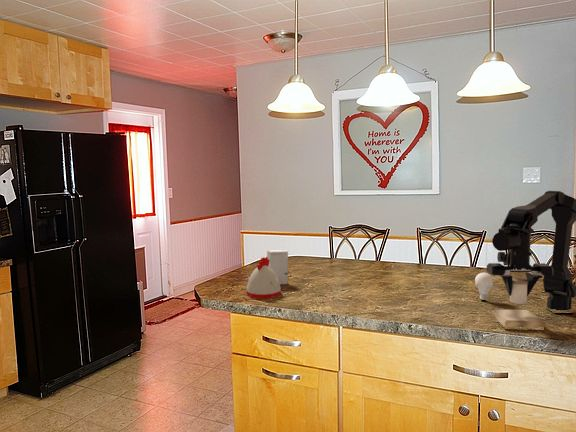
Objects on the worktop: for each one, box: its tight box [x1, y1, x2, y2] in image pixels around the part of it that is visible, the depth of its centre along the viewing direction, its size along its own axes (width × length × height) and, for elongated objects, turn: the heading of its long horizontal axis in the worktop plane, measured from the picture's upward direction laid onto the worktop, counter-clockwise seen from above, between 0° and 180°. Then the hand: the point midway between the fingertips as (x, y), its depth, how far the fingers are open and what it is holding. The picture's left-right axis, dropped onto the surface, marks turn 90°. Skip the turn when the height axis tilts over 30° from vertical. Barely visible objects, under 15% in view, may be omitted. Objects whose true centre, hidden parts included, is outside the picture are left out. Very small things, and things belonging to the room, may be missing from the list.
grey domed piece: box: [246, 256, 282, 299], centre depth 190 cm, size 14×14×15 cm
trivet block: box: [490, 309, 546, 328], centre depth 151 cm, size 12×12×3 cm
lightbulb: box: [474, 272, 494, 301], centre depth 177 cm, size 6×6×11 cm
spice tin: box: [509, 277, 528, 305], centre depth 150 cm, size 5×5×7 cm
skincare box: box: [266, 249, 289, 286], centre depth 206 cm, size 8×6×15 cm
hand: (518, 295), depth 150 cm, fingers closed on spice tin, 5 cm apart
